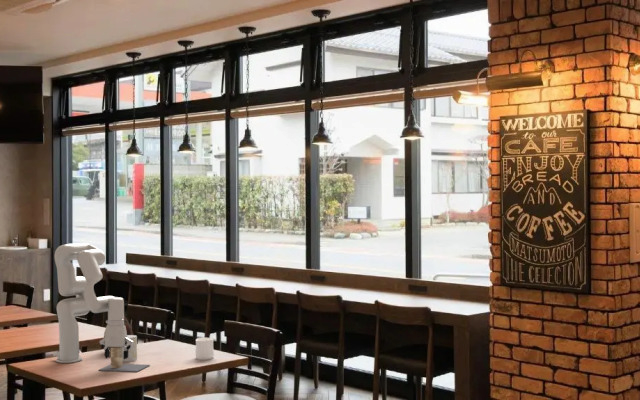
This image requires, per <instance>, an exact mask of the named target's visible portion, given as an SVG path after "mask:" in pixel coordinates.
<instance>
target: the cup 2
mask: <svg viewBox="0 0 640 400" xmlns="http://www.w3.org/2000/svg"><path fill="white" fill-rule="evenodd" d="M214 352H215V351H214V338H212V337H198V338H196V339H195V359H196V360H199V361H205V360H206V361H207V360H212V359H213V358H214V354H215V353H214Z"/></svg>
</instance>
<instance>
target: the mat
mask: <svg viewBox="0 0 640 400" xmlns="http://www.w3.org/2000/svg"><path fill="white" fill-rule="evenodd" d="M150 366H151V364H139V363H138V364H137V363H136V364H135V363H133V364H132V363H122V367H120V368H111V363H110V364H108V365H107V366H104V367H102V368H99V369H98V372H114V371H116V372H119V373H120V372H121V373H139V372H141V371H143V370H145V369H146V368H148V367H150ZM116 372H115V373H116Z"/></svg>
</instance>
